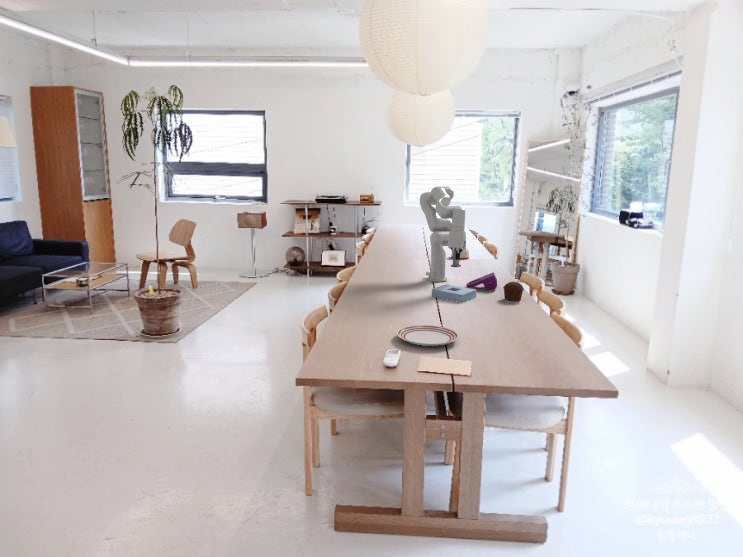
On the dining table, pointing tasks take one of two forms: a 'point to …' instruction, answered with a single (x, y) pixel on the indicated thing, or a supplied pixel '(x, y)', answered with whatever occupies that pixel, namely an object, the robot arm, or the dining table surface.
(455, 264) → the steel bracket
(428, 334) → the dinner plate
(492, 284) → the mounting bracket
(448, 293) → the well block
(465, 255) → the kitchen timer
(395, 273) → the dining table surface
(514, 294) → the muffin
